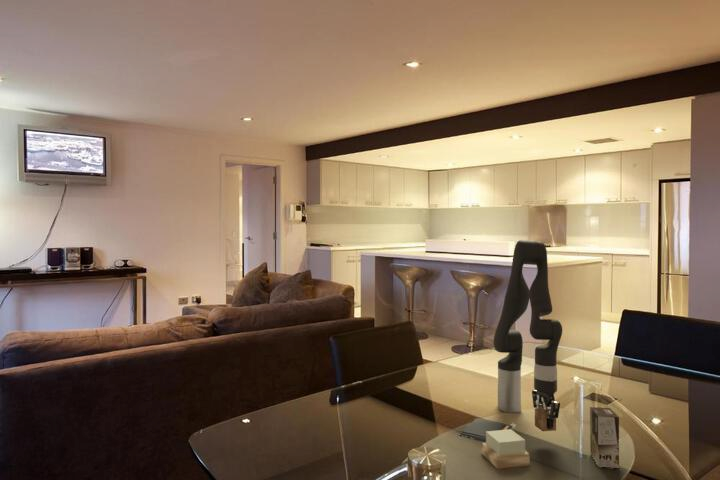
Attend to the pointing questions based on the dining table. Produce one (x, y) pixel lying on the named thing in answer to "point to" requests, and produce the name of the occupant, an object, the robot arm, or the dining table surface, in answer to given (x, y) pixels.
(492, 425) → the dark grey book
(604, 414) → the coffee box
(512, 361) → the robot arm
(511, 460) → the tower base
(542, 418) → the walnut block
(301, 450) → the dining table surface
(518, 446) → the tower top
